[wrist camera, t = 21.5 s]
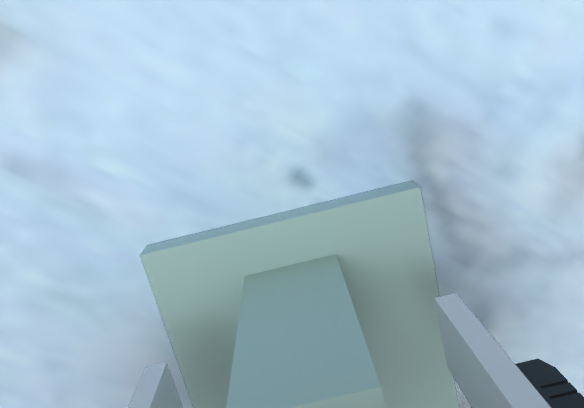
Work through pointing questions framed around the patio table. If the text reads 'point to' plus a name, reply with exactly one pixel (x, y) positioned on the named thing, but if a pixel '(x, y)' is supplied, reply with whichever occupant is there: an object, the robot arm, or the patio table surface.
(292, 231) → the cover
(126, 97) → the patio table surface
